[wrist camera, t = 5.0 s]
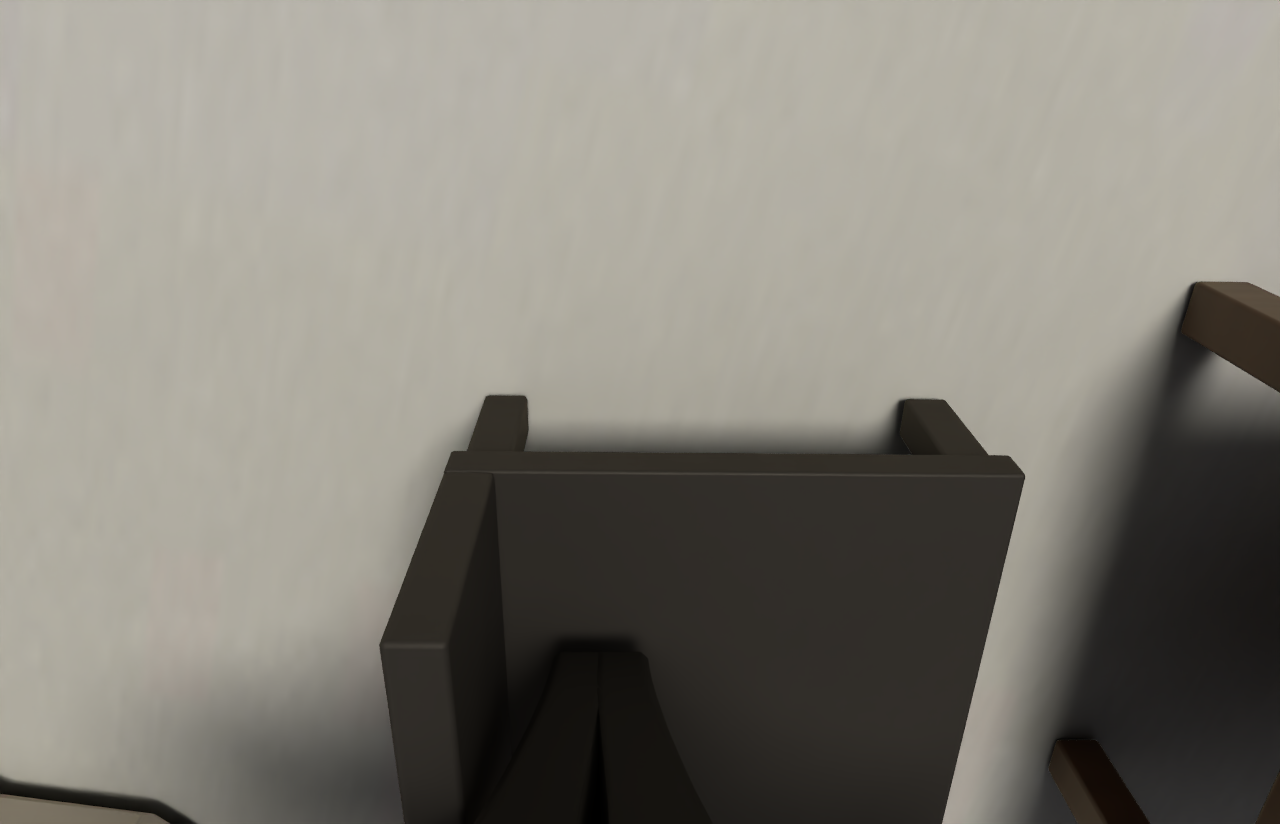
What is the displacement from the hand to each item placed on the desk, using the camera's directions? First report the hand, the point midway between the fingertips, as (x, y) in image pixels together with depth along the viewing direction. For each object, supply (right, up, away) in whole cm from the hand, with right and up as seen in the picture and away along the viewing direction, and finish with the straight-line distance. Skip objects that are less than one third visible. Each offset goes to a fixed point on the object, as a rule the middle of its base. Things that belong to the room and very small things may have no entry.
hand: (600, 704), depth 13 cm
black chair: (+2, +2, +3) cm, 4 cm away
